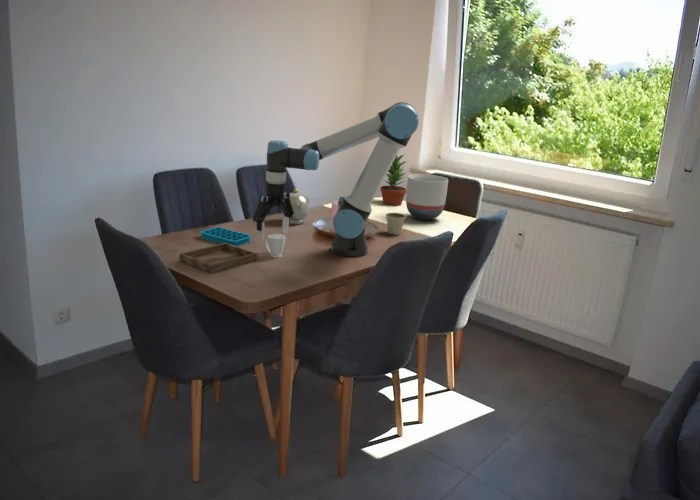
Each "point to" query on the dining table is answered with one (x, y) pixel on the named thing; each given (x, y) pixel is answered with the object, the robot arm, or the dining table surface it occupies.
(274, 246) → the cup
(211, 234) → the ice cube tray
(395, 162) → the potted plant
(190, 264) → the tray
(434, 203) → the planter
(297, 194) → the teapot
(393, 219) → the flower pot
